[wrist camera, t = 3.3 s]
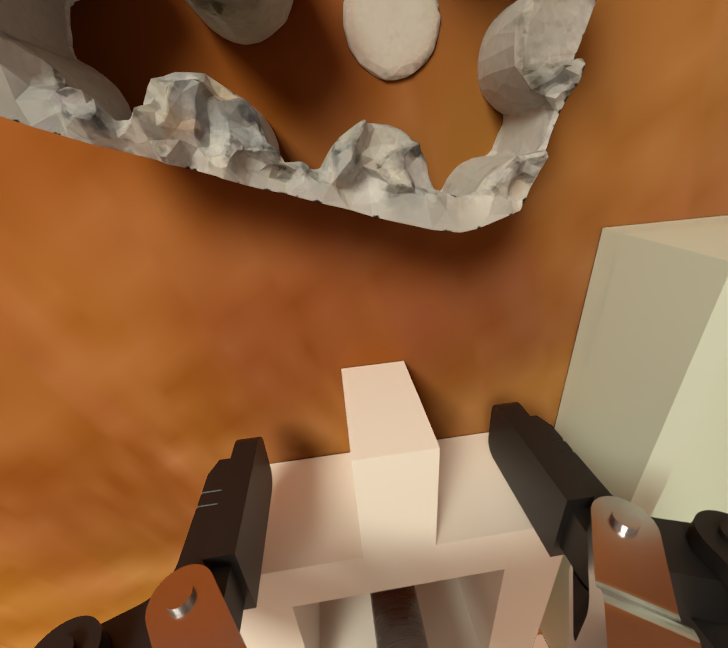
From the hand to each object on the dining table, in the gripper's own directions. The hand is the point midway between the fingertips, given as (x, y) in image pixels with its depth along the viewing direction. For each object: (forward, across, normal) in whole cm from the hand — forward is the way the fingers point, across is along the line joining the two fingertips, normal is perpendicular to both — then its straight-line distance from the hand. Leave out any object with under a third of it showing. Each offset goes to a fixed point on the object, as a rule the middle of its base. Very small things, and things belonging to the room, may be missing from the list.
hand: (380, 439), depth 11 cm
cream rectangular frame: (+2, 0, +6) cm, 6 cm away
